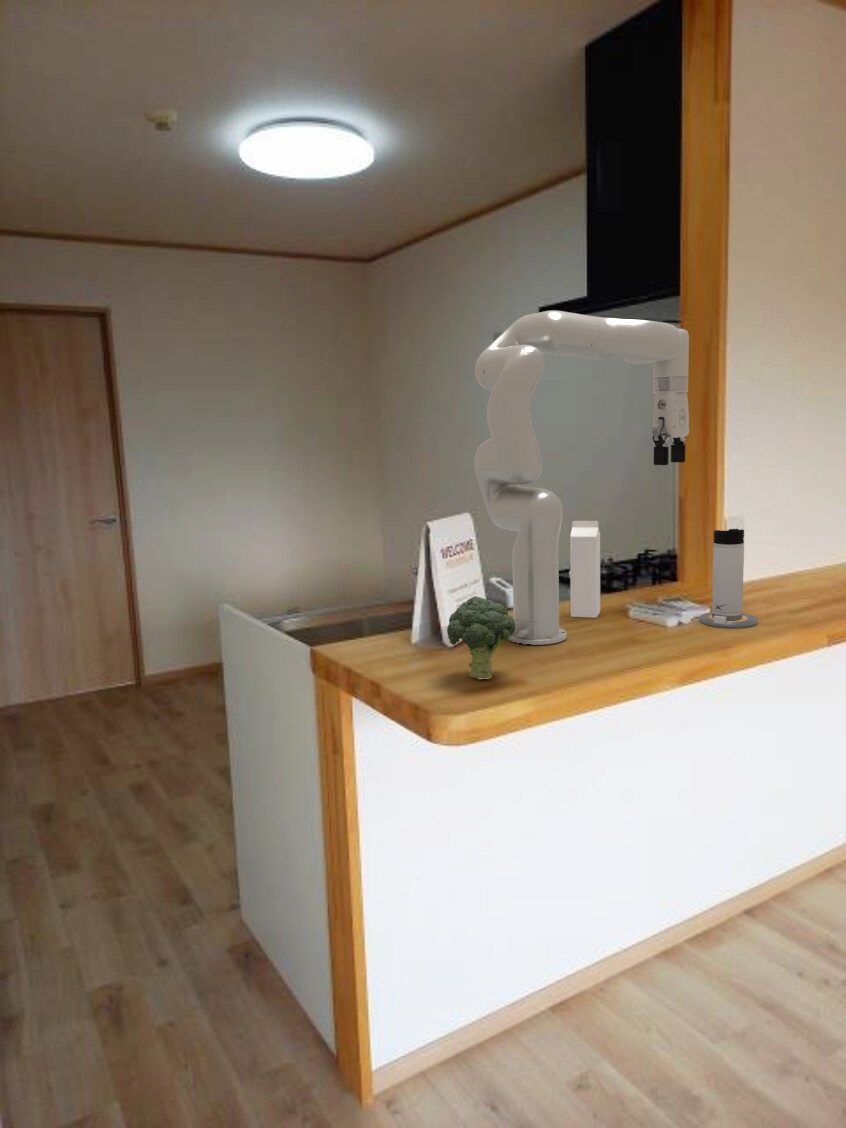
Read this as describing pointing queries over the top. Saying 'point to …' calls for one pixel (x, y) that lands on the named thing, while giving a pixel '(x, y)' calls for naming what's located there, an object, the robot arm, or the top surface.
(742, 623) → the base
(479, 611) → the vegetable
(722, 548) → the travel mug
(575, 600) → the milk
